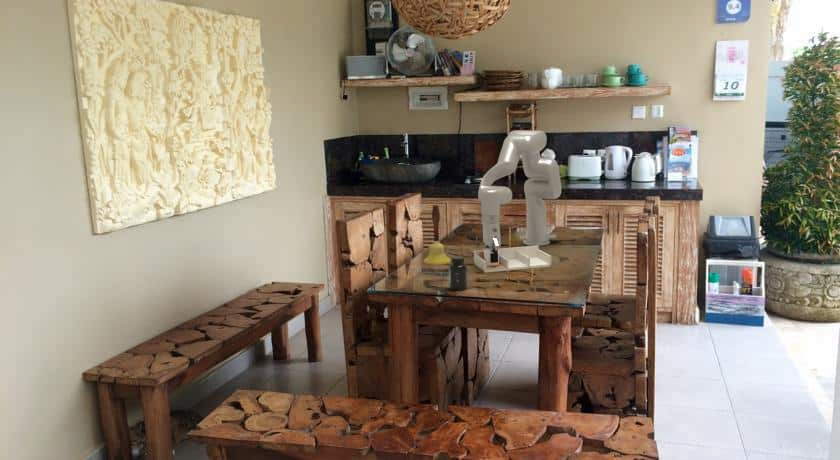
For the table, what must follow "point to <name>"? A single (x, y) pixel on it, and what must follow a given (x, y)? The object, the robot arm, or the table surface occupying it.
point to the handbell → (436, 242)
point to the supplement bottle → (458, 274)
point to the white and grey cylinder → (487, 257)
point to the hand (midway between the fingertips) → (491, 260)
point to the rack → (514, 259)
